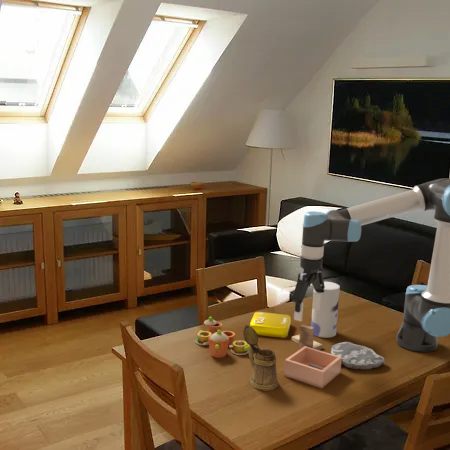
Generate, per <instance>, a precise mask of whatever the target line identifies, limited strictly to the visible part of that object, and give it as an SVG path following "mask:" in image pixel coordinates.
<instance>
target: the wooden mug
mask: <svg viewBox="0 0 450 450" xmlns="http://www.w3.org/2000/svg"><path fill="white" fill-rule="evenodd" d="M242 337H243V340H244V341H245V342H247V344H249V345H250V347H249V348H248V350H249V352H248V358H249V362H250V364H251V367H252V373H251V376H250V379H249V385H250V386H251V387H252V388H255V389H257V390H258V391H259V390H260V391H273V390H275V389H277V388H278V387H279V381H278V372H277V364H276V363H277V357H276V352H275V351H273V350H271V349H261V348H260V347H259V345H258V342H259V335H257V333H256V331H255V330H254V329H253V328H252V327H251V326H250V325H248V324H245V326H244V328H243V332H242Z"/></svg>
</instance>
